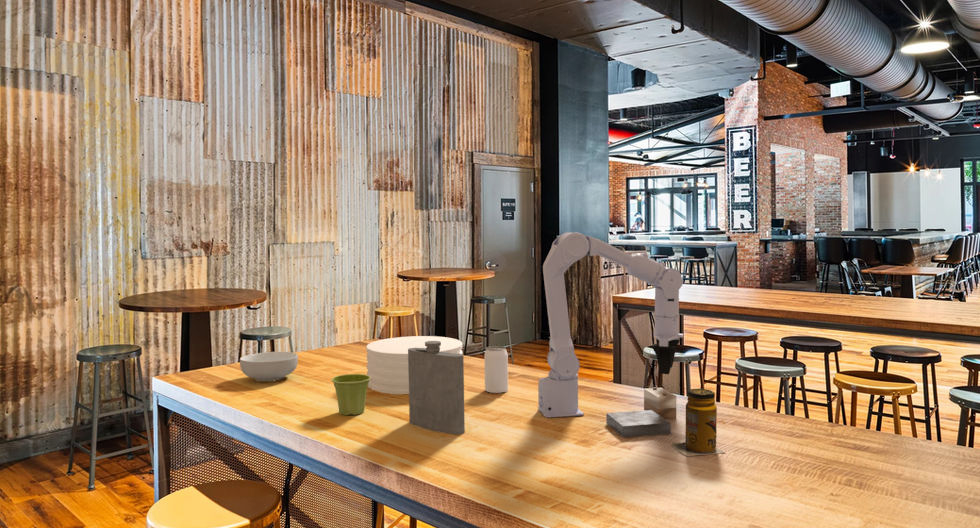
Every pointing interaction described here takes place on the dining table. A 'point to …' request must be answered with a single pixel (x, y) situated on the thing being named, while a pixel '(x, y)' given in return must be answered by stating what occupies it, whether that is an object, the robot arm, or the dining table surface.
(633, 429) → the stand
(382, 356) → the plate stack
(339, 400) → the plant pot
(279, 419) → the dining table surface
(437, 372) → the hip flask
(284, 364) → the cereal bowl
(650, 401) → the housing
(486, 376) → the can
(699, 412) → the condiment
